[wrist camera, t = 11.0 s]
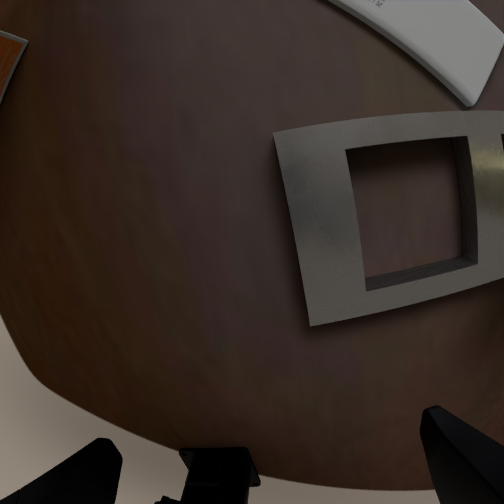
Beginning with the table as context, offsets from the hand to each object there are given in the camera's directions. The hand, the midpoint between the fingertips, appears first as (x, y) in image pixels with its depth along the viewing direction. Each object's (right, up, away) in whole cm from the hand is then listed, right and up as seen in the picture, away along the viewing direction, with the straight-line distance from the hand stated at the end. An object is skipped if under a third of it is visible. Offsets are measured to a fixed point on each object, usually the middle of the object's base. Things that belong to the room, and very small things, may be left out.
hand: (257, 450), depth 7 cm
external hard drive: (+11, +22, +8) cm, 26 cm away
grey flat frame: (+15, +9, +10) cm, 20 cm away
